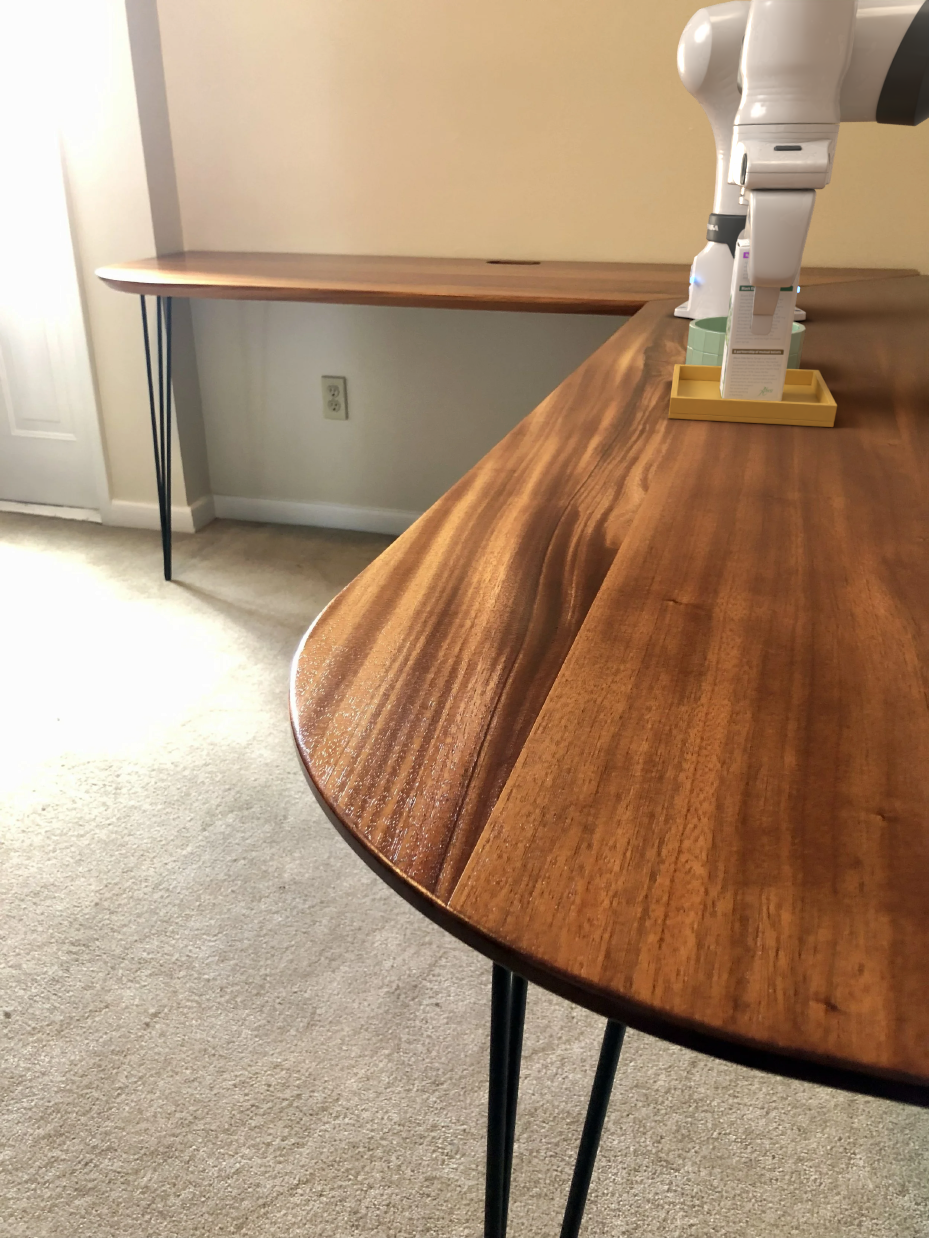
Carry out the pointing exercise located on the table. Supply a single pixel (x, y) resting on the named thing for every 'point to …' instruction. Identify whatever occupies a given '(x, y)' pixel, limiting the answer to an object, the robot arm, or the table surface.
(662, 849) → the table surface
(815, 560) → the table surface
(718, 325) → the bowl
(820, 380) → the tray
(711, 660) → the table surface
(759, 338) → the syrup box
